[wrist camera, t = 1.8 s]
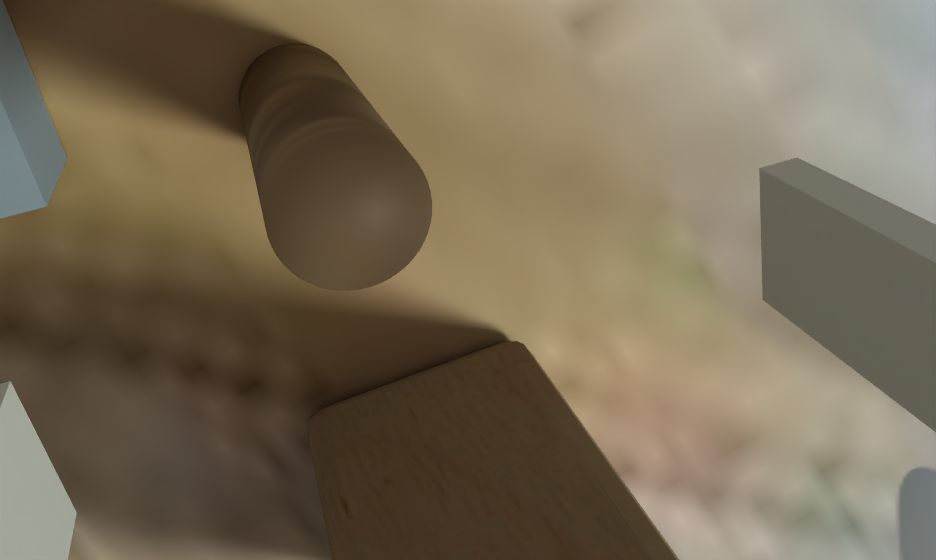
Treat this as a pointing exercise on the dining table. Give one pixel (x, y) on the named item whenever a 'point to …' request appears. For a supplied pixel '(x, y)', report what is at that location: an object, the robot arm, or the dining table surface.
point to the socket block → (24, 132)
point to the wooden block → (472, 471)
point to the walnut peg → (330, 172)
